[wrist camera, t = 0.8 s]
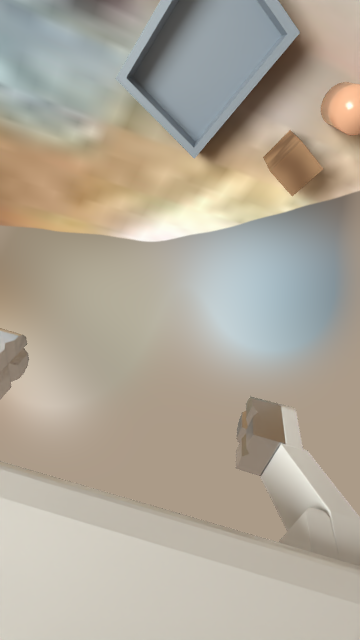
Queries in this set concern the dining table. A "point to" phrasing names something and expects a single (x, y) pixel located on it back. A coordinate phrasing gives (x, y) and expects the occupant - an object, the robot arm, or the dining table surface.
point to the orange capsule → (343, 107)
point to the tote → (204, 62)
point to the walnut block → (292, 163)
